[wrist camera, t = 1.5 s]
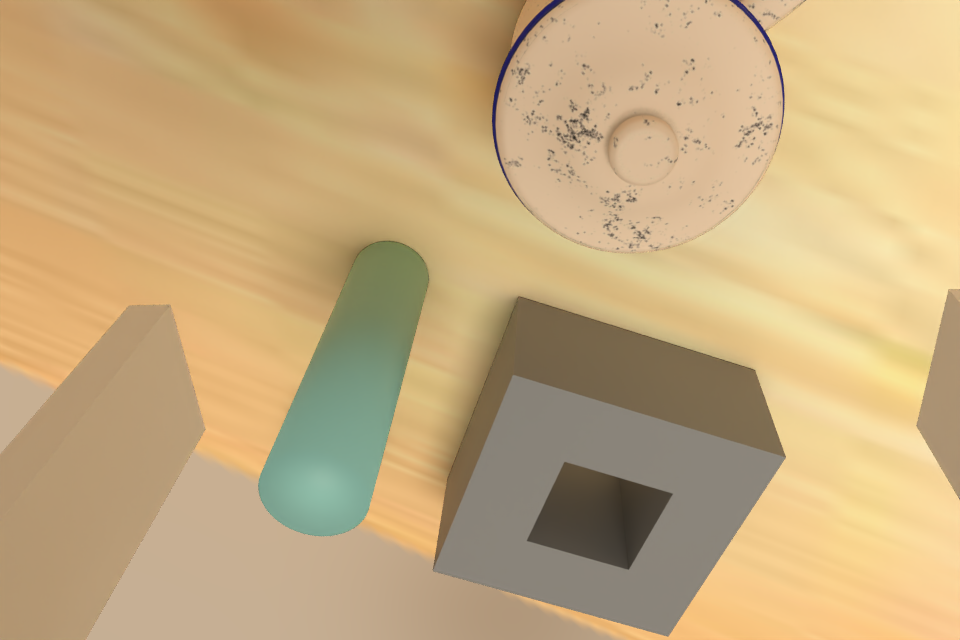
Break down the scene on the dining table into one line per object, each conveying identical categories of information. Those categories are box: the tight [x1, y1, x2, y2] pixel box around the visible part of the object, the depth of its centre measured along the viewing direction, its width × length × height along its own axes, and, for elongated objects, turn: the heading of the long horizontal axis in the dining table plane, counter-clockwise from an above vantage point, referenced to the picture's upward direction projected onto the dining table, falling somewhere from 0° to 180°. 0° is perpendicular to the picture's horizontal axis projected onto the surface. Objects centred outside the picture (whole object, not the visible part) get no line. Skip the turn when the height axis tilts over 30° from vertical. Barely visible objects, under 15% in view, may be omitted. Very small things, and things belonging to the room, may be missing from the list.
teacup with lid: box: [492, 0, 806, 253], centre depth 29 cm, size 12×9×12 cm
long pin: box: [258, 241, 429, 536], centre depth 34 cm, size 4×4×15 cm
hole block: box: [433, 297, 786, 636], centre depth 41 cm, size 12×12×6 cm
